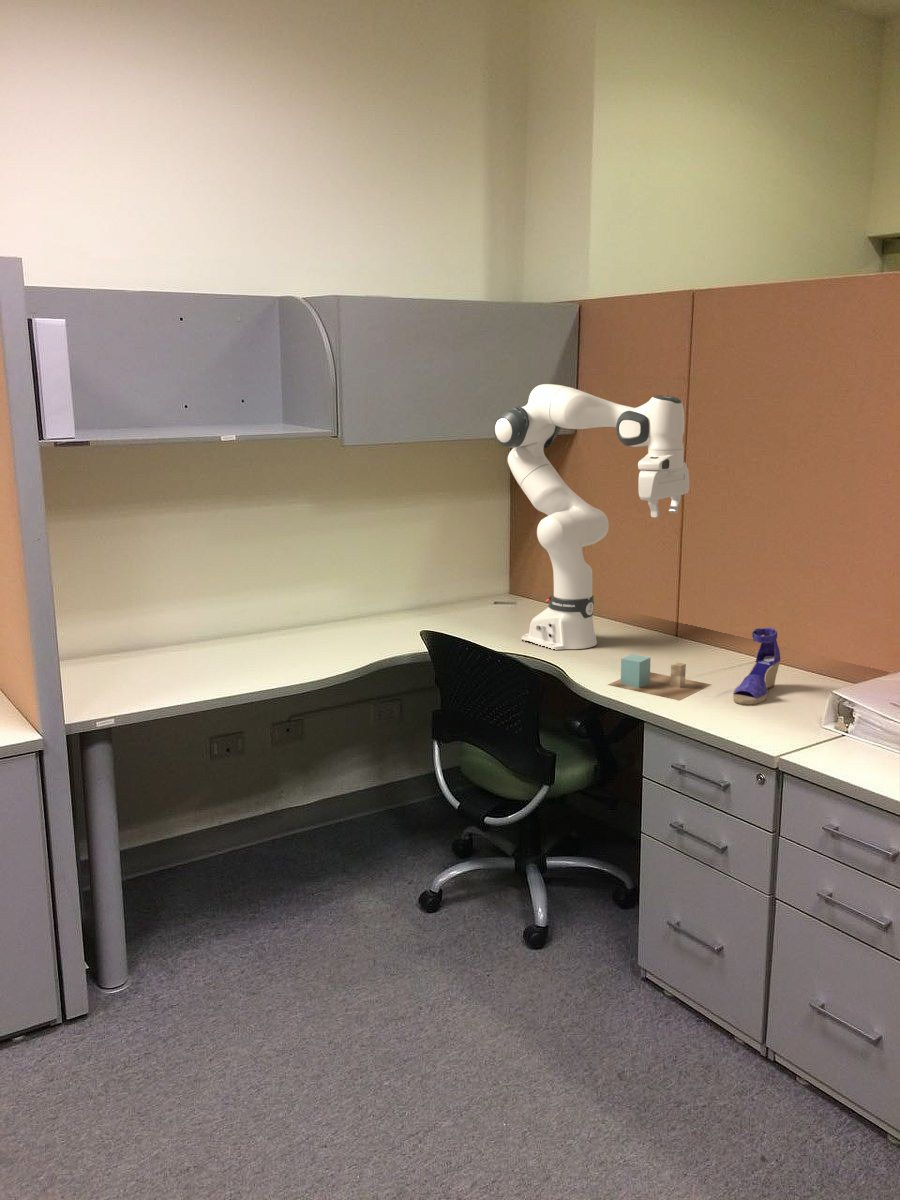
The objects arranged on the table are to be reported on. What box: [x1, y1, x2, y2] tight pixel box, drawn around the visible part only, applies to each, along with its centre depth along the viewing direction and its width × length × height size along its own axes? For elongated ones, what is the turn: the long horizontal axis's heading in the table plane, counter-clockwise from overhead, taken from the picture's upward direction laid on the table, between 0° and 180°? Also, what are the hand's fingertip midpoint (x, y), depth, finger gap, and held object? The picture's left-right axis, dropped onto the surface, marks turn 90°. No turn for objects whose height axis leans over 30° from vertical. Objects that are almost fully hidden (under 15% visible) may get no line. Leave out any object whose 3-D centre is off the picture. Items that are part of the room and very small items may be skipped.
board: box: [607, 671, 712, 702], centre depth 248 cm, size 20×16×1 cm
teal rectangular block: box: [620, 653, 651, 688], centre depth 248 cm, size 5×5×7 cm
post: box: [670, 661, 687, 688], centre depth 246 cm, size 3×3×6 cm
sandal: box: [732, 627, 781, 706], centre depth 240 cm, size 8×20×15 cm, turn 135°
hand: (664, 514), depth 257 cm, fingers open, 8 cm apart
